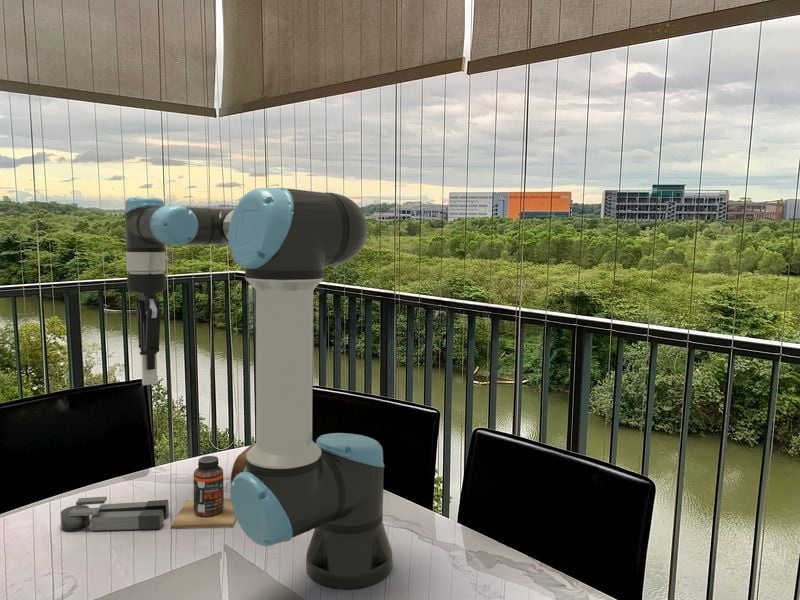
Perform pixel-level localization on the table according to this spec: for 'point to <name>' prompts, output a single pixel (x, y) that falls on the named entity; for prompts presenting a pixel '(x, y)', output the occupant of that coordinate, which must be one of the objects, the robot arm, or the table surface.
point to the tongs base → (109, 519)
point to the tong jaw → (126, 505)
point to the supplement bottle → (208, 487)
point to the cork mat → (191, 520)
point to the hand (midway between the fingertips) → (149, 383)
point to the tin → (240, 464)
